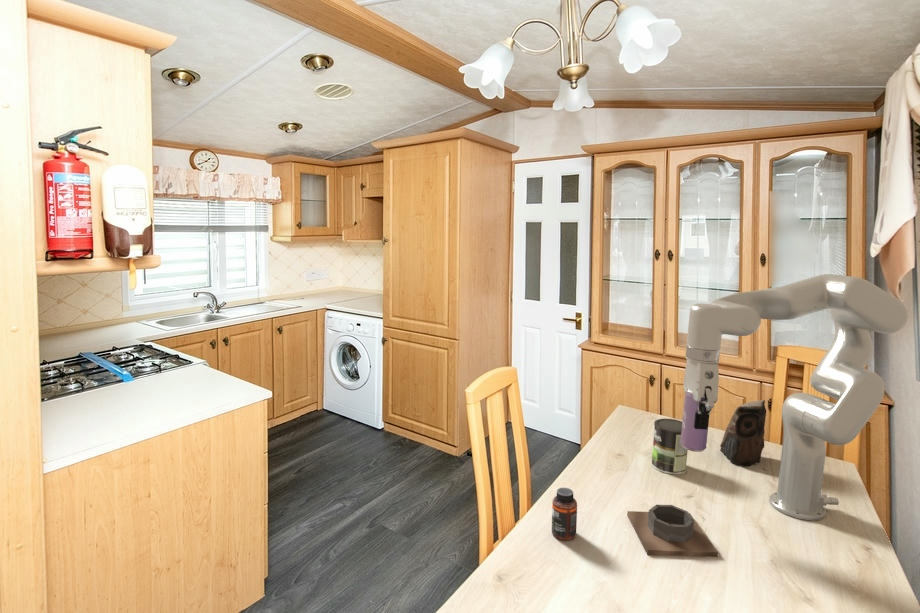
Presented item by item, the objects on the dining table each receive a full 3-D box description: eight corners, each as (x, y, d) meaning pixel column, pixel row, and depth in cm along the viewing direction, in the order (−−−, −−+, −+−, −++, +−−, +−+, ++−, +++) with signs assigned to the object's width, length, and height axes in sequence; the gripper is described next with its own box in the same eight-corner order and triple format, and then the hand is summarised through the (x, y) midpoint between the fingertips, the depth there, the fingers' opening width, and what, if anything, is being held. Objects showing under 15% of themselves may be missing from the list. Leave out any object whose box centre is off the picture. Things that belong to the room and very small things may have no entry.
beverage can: (708, 453, 124) (714, 395, 122) (682, 451, 126) (688, 393, 124) (702, 444, 130) (708, 388, 128) (678, 441, 132) (683, 386, 129)
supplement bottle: (577, 529, 125) (579, 487, 124) (574, 543, 120) (576, 499, 118) (553, 525, 127) (554, 483, 126) (549, 538, 122) (551, 495, 120)
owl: (761, 455, 167) (767, 397, 164) (770, 472, 156) (777, 410, 153) (719, 449, 172) (724, 393, 169) (724, 465, 160) (730, 405, 157)
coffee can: (655, 473, 154) (658, 430, 152) (648, 458, 164) (650, 417, 162) (691, 476, 153) (694, 432, 151) (681, 460, 163) (684, 419, 161)
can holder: (689, 517, 131) (690, 498, 130) (717, 556, 116) (719, 536, 115) (627, 515, 132) (628, 497, 131) (647, 554, 116) (648, 534, 115)
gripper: (734, 364, 115) (726, 438, 118) (703, 346, 132) (696, 412, 135) (701, 362, 116) (693, 437, 119) (674, 345, 133) (668, 410, 136)
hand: (695, 423), depth 127 cm, fingers closed on beverage can, 5 cm apart
